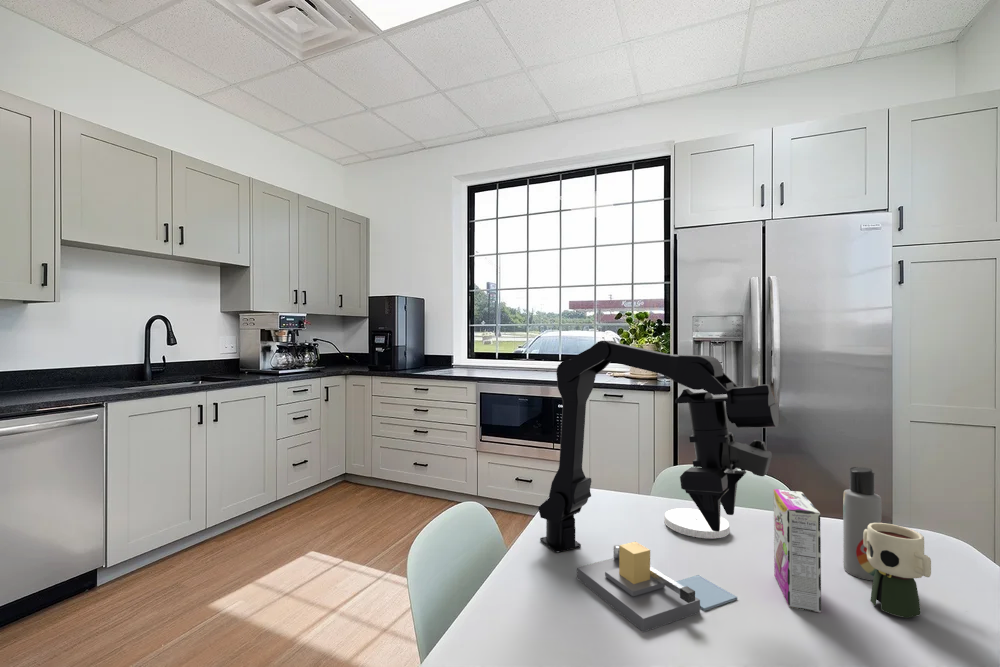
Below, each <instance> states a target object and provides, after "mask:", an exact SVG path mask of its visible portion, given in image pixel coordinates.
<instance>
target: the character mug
mask: <svg viewBox="0 0 1000 667" xmlns="http://www.w3.org/2000/svg"><path fill="white" fill-rule="evenodd" d="M863 543H864V546H865V547H866V548H867V559H868V561H869V563H870V564H871V566H872V567H874V568H875V569H877V570H876V571H875V574H874V579H873V580H872V586H871V590H870V591H871V594H870V599H869V600H870V602H871V603H872V605H874V606H875V607H877V606H876V605H877V601H878V602H879V603H880V610H881V611H883V612H886V613H887V614H890V615H893V616H897V617H901V618H904V619H905V618H915V617H918V616H921V613H922V612H921V605H920V604H921V603H920V597H919V590H918V586H917V582H916V580H915V579H920V578H922V577H924V578H930V577H931V575H932V559H931V558H930V556H928V555H926V554H925V537H924V536H923V534H922V533H920V532H918V531H916V530H913V529H910V528H908V527H905V526H902V525H901V526H900V525H897V524H892V523H885V522H884V523H883V522H881V523H870V524H869V525H868V527H867V529H865V530H864V533H863Z"/></svg>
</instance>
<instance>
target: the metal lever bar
mask: <svg viewBox="0 0 1000 667" xmlns="http://www.w3.org/2000/svg"><path fill="white" fill-rule="evenodd" d="M620 545H621V544H614V545H613V558H614V559H615V560H618V561H619V550H620ZM650 576H651V577H653V578H654V579H656V580H657V581H659V582H661V583H662V584H664V585H665V586H667V587H668V588H670V589H671V590H673V591H675V592H676V593H678V594H679V595H680V598H681V599H683V600H684V601H686V602H687V603H690V602H693V601H695V591H694V590H693V589H691V588H689V587H688V586H686V587H683V586H682V585H680V584H679V583H677V582H676V581H675V580H673V579H672V578H670V577H669V576H667V575H665V574H664V573H663V572H660V571H659V570H657V569H656V568H654V567H652V565H650Z"/></svg>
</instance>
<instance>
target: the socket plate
mask: <svg viewBox="0 0 1000 667" xmlns="http://www.w3.org/2000/svg"><path fill="white" fill-rule="evenodd" d="M617 568H619V561H618V560H615V559H614V557H613V558H609V559H604V560H600V561H596V562H592V563H591V562H590V563H588V564H584V565H580V566H576V579H577V580H578V581H580V583H582V584H583V585H585V587H587V588H588V589H589V590H591V591H592V592H593V593H594V594H596V595H597V596H598V597H599V598H600V599H601V600H603V601H604V602H606V603H607V604H608V605H609V606H611V607H612V608H613V609H614V610H615V611H616V612H618V613H619V614H620V615H622V616H623V617H624V618H625V619H626V620H628V621H629V622H630V623H631V624H632V625H633V626H635V627H636V628H637V629H639V630H640V631H641V632H642V631H643V632H642V633H645V632H647V631H650V630H653V629H657V628H660V627H662V626H665V625H667V624H668V625H669V624H670V623H671V624H672V623H673V622H676V621H679V620H682V619H685V618H687V617H690V616H694V615H696V614H700V613H701V608H700V600H699V599H698V598H696V597H695V601H693V602H690V603H687V602H686V601H684V600H683V599H681V598H680V595H679V594H678V593H676V592H675V591H673V590H671V589H670V588H668V587H667V586H665V587H663V588H660V589H657V590H653V591H650V592H647V593H643V594H640V595H637V596H631V595H630V594H629V593H627V592H626V591H625V590H623V589H622V588H621V587H619V586H618V585H616V584H615V583H614V582H612V581H611V580H610V579H608V578H607V577H606V576H605V572H606V571H609V570H613V569H617Z"/></svg>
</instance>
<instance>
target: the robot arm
mask: <svg viewBox="0 0 1000 667" xmlns="http://www.w3.org/2000/svg"><path fill="white" fill-rule="evenodd" d="M611 363H615V364H619V365H623V366H627V367H632V368H635V369H639V370H644V371H647V372H652V373H655V374H660V375H662V376H665V377H666V378H668V379H670V380H671V381H673V382H675V383H676V384H678V385H681V386H684V387H687V388H684V389H683V390H682V392H681V394H680V395H679V396H678V397H676V399H675V404H688V409H689V410H688V411H689V417H690V425H691V431H692V434H691V435H689V436H688V437H689V443H693V446H694V451H695V452H694V453H695V459H693V460H692V466H691V467H690V468H688V469H686V470H685V471H683V473H682V474H681V475H680V476H679V480H680V488H681V490H684V492H685V493H686V494H688V495H689V497H690V498H691V500H692V501H693V503H694V504H695V505H696V507H697V509H699V510H700V512H701V513H702V515H703V516H704V518H705V520H706V521H707V523H708V524H709V526H710V528H711V529H712V530H713V531H720V516H721V505H722V507H723V509H724V512H725V514H726V515H729V516H733V515H734V513H735V506H736V498H737V497H736V496H737V490H738V489H737V488H738V482H739V481H740V480H741V479H742V478H743V477H744V476H745V475H746V474H747V472H750V473H751V474H753V475H756V476H758V477H765V475H766V474H767V473H768V472H769V469H770V465H771V460H772V459H773V458H772V456H773V454H772V451H770V450H768V448H767V444H766V442H765V441H762V440H760V439H754V440H753V441H752V442H751V443H750V444H748V443H746V442H745V443H742V442H738V441H736V437H735V436H736V435H735V434H734V433H733V432H732V431H731V432H730V431H729V430H730V429H729V424H728V421H729V422H730V423H731V424H734V425H735V426H736V428H738V429H756V428H758V429H763V428H764V429H766V428H767V429H769V428H770V429H773V428H779V424H780V413H779V406H778V403H777V402H776V399H775V396H774V394H773V392H772V388H771V385H770V384H769V383H768V384H759V385H757V386H756V385H755V386H742V387H741V386H740V387H739V386H738V385H737V384H736V383H735V382H734V381H733V380H732V379H731V378H730V377H729V376H727V375H726V374H725V373H724V368H723V366H722V364H721V362H720V360H719V359H717V358H716V357H714V356H712V355H703V354H702V355H699V354H698V355H696V354H672V353H671V354H670V353H665V352H660V351H657V350H650V349H646V348H642V347H639V346H638V347H637V346H633V345H628V344H624V343H619V342H617V341H614V340H600V341H598V342H596V343H594V344H593V345H592V346H591V347H590V348H588V349H586V350H583V351H581V352H580V353H578V354H576V355H575V356H573V357H572V358H570V359H565V360H563V361H561V362H560V363H559V364H558V365H557V367H556V383H557V389H558V391H559V392H558V393H559V394H560V396H561V400H562V411H561V412H562V414H561V427H560V429H561V430H560V447H559V462H558V469H557V471H556V473H555V475H554V477H553V479H552V481H551V484H550V489H549V495H548V497H547V499H546V500H545V501H543V503H542V504H540V505H539V506H538V512H539V516H540V518H541V519H544V520H546V527H545V528H546V530H545V531H546V532H545V533H546V536H542V537H540V539H539V541H540V542H542V543H543V544H544V545H545V546H547V547H548V548H549V549H551V550H552V551H553V552H555V553H560V552H564V551H569V550H573V549H578V548H581V547H582V544H581V543H580V542H579V541H577V540H576V518H575V515H576V514H579V513H580V512H581V511H582V508H583V506H585V505H586V504H587V503H588V501H589V498H591V497H592V493H591V485H592V477H586V476H585V473H584V471H583V456H584V444H585V442H584V441H585V440H584V439H585V425H586V413H587V412H586V408H587V402H588V400H589V398H590V395H591V393H592V391H593V389H594V386H595V380H596V376H597V375H598V374H600V373H601V372H602V371H603V370H605V369H606V368H607V366H609V365H610V364H611ZM690 389H691V390H690ZM692 390H694V391H695V390H697V391H699V392H693V391H692ZM700 390H704V391H703V392H700ZM720 395H723V396H720ZM724 395H726V396H724ZM715 396H716V397H715ZM717 396H718V397H717ZM738 468H739V469H740V470H738Z"/></svg>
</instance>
